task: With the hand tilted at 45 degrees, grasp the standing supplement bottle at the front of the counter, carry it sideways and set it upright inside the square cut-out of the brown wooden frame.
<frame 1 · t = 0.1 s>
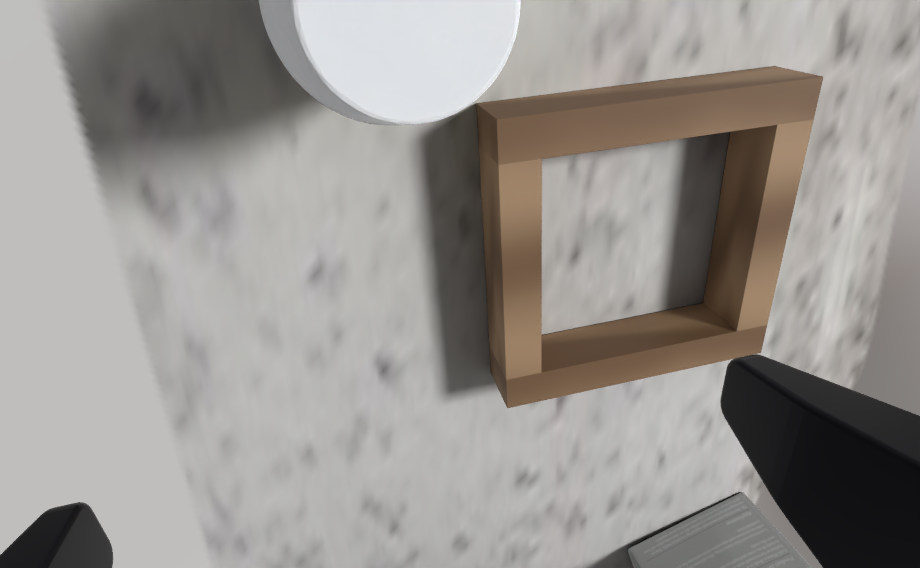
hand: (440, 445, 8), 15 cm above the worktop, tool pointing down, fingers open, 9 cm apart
brown wooden frame: (621, 231, 25), on the worktop
skincare box: (690, 538, 37), on the worktop
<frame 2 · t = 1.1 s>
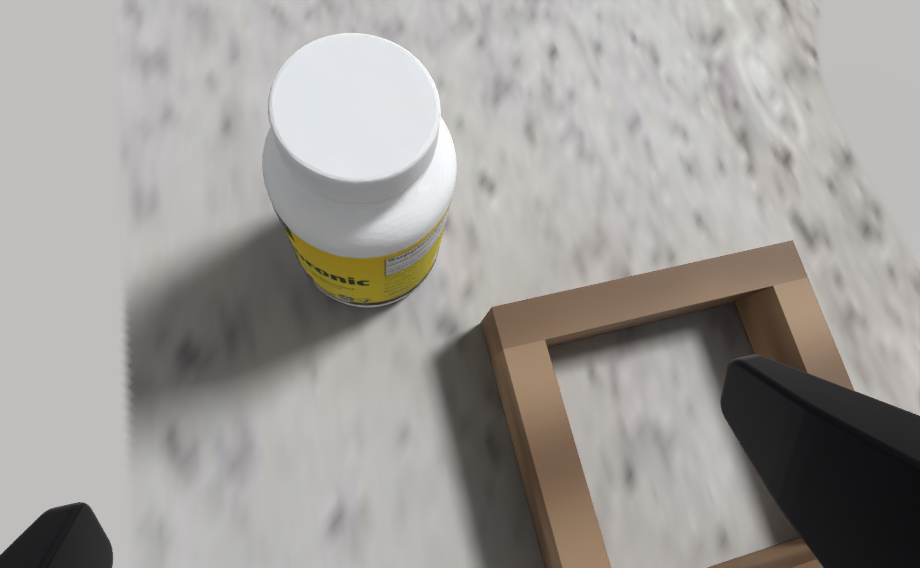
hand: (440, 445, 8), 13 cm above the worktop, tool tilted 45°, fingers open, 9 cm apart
brown wooden frame: (672, 440, 22), on the worktop
supplement bottle: (368, 245, 23), on the worktop
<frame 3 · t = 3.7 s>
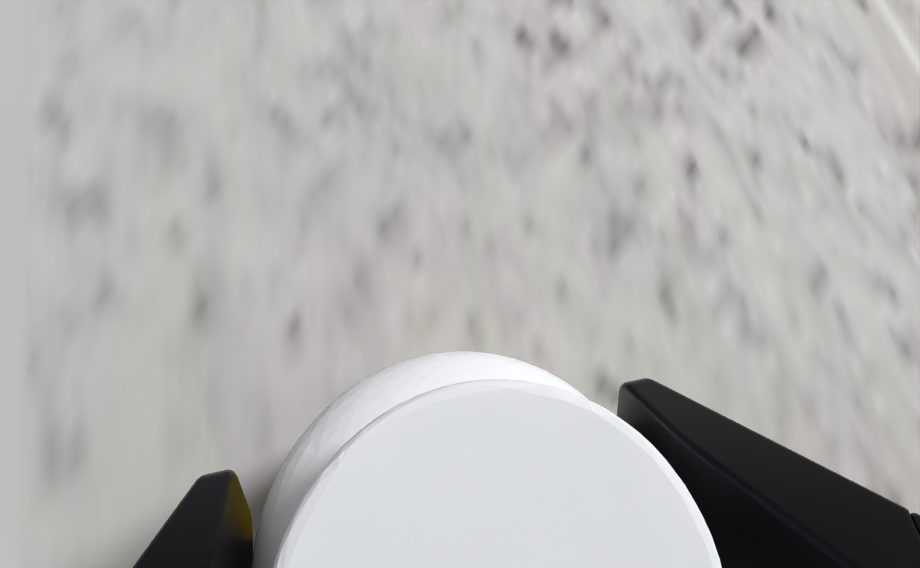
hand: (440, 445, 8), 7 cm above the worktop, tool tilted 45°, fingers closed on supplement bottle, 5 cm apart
supplement bottle: (428, 507, 14), on the worktop, touching gripper
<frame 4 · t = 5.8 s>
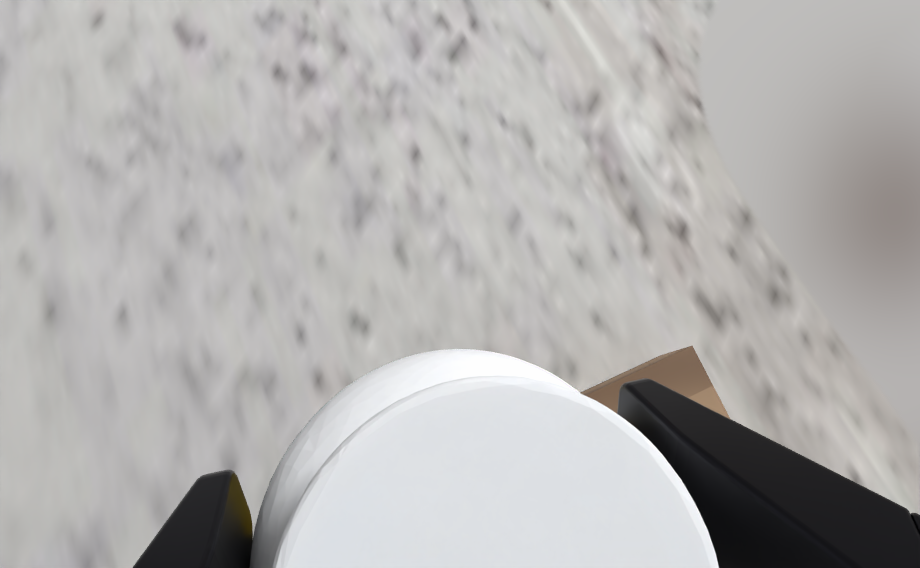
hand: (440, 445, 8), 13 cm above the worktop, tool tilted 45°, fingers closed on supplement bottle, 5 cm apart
supplement bottle: (424, 505, 14), point 6 cm above the worktop, touching gripper
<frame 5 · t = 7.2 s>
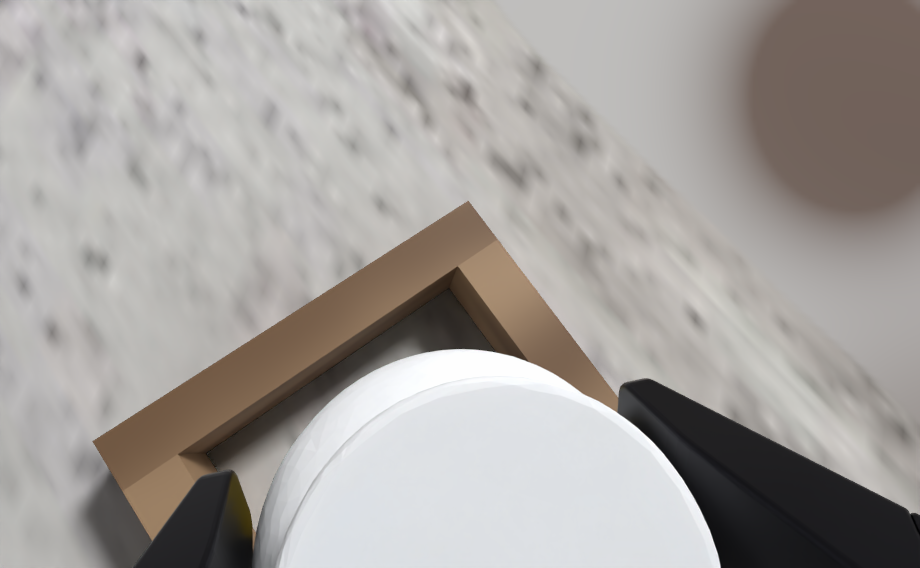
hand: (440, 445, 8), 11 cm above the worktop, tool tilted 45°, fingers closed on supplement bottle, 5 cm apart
brown wooden frame: (416, 485, 18), on the worktop
supplement bottle: (425, 505, 14), point 4 cm above the worktop, touching gripper
when the fingers open (8 cm above the worktop, at t = 8.2 s): supplement bottle drops 1 cm, resting in brown wooden frame.
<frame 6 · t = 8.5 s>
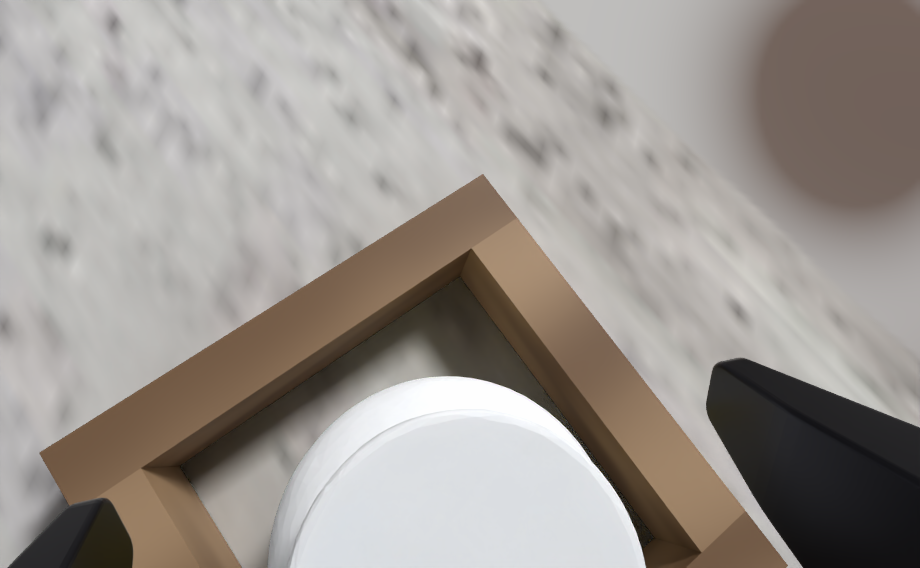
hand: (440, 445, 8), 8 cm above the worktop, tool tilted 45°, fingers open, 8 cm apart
brown wooden frame: (424, 502, 16), on the worktop
supplement bottle: (422, 508, 16), resting in brown wooden frame
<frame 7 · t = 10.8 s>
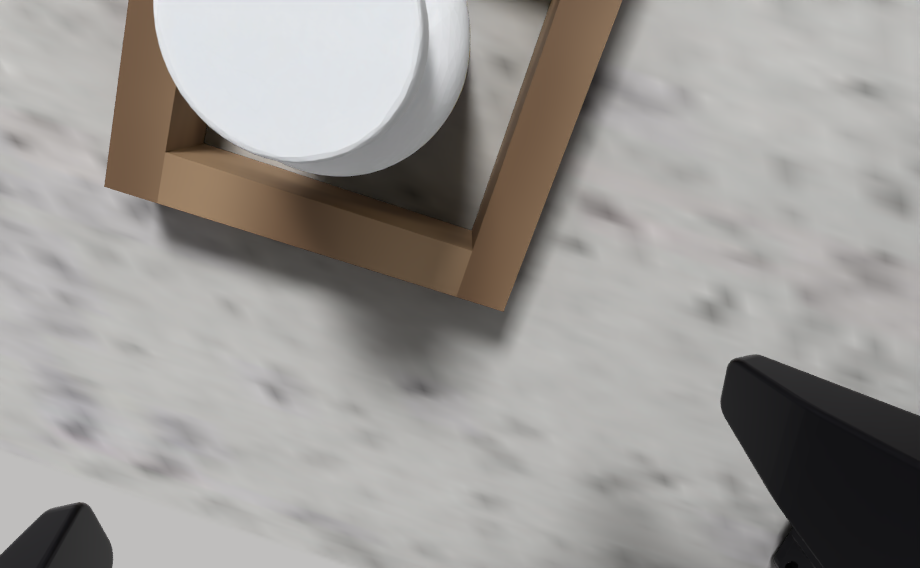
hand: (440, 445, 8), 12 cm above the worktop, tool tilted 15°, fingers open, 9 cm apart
brown wooden frame: (377, 46, 18), on the worktop
supplement bottle: (381, 51, 18), resting in brown wooden frame
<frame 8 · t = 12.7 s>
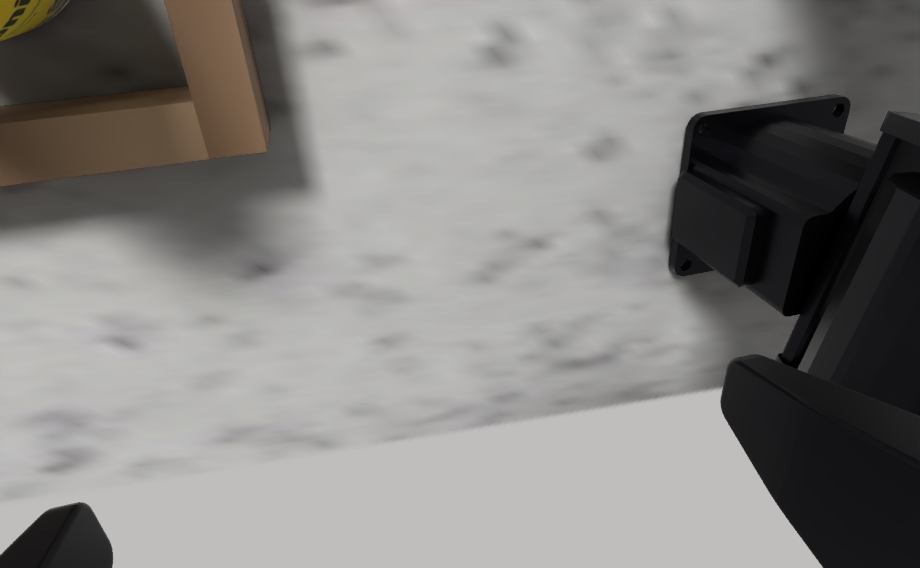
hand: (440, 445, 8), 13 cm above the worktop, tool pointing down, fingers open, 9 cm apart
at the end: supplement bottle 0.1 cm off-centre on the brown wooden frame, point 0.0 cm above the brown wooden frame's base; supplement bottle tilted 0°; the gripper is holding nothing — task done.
